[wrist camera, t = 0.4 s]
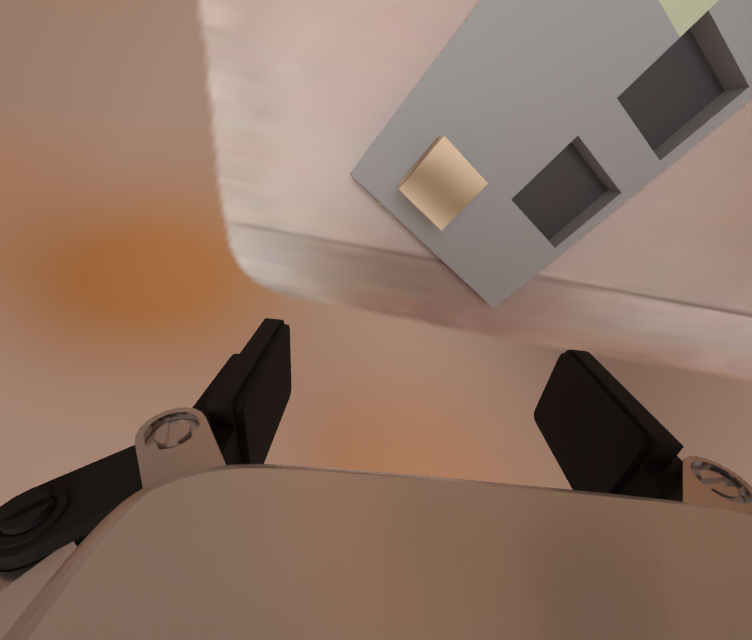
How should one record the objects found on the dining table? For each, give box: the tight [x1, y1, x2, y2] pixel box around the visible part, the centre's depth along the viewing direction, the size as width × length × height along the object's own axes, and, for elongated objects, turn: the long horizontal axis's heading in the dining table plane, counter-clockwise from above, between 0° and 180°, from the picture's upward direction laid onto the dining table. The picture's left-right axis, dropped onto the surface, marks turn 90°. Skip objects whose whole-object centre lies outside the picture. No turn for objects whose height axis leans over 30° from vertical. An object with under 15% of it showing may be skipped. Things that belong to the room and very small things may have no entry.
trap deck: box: [350, 0, 752, 309], centre depth 26 cm, size 32×21×6 cm, turn 139°
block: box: [399, 136, 488, 231], centre depth 28 cm, size 5×5×5 cm
